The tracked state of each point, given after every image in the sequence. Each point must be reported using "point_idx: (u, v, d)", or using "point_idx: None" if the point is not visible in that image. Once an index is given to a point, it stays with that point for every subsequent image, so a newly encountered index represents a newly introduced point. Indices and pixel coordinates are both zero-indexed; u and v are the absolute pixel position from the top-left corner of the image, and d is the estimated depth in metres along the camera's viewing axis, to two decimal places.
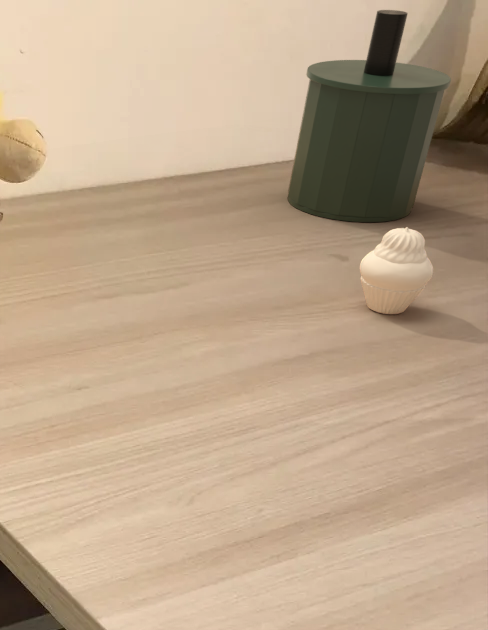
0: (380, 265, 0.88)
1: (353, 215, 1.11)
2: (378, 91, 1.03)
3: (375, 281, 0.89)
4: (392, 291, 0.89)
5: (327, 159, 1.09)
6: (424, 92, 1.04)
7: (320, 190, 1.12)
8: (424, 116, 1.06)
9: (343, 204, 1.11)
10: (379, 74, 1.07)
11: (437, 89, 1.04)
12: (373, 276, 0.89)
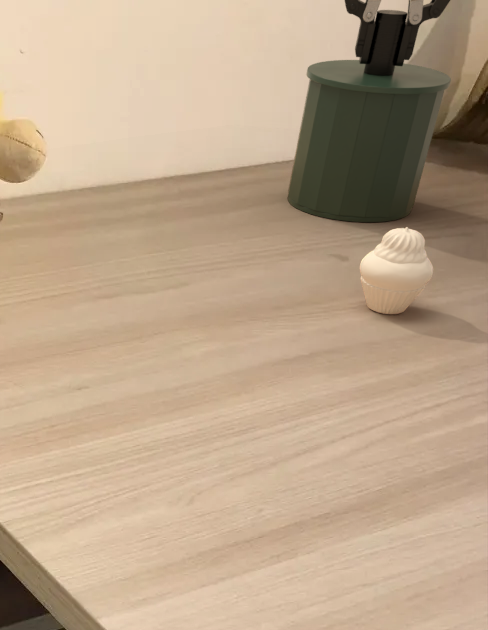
0: (380, 265, 0.88)
1: (353, 215, 1.11)
2: (378, 91, 1.03)
3: (375, 281, 0.89)
4: (392, 291, 0.89)
5: (327, 159, 1.09)
6: (424, 92, 1.04)
7: (320, 190, 1.12)
8: (424, 116, 1.06)
9: (343, 204, 1.11)
10: (379, 74, 1.07)
11: (437, 89, 1.04)
12: (373, 276, 0.89)
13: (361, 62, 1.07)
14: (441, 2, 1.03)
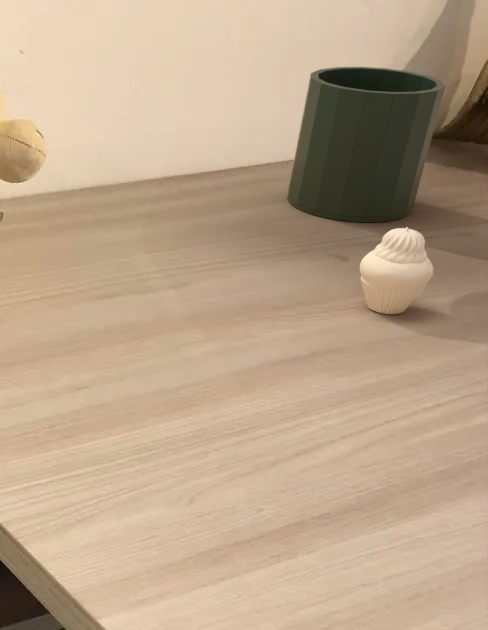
0: (380, 265, 0.88)
1: (353, 215, 1.11)
2: None
3: (375, 281, 0.89)
4: (392, 291, 0.89)
5: (327, 159, 1.09)
6: None
7: (320, 190, 1.12)
8: (424, 116, 1.06)
9: (343, 204, 1.11)
10: None
11: None
12: (373, 276, 0.89)
13: None
14: None
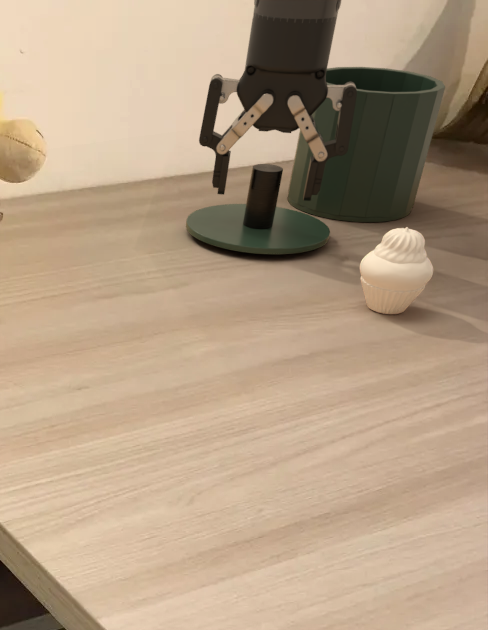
0: (380, 265, 0.88)
1: (353, 215, 1.11)
2: (251, 251, 1.01)
3: (375, 281, 0.89)
4: (392, 291, 0.89)
5: None
6: (298, 251, 1.02)
7: (320, 190, 1.12)
8: (424, 116, 1.06)
9: (343, 204, 1.11)
10: (257, 228, 1.05)
11: (313, 247, 1.02)
12: (373, 276, 0.89)
13: (218, 193, 1.04)
14: (342, 139, 0.99)
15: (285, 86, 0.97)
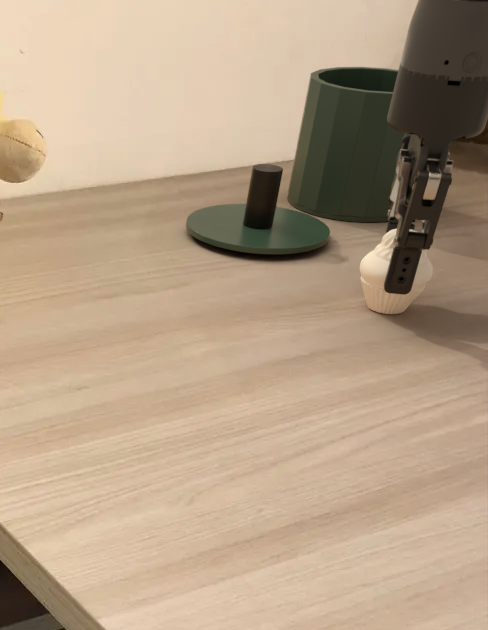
0: (380, 265, 0.88)
1: (353, 215, 1.11)
2: (251, 251, 1.01)
3: (375, 281, 0.89)
4: None
5: (327, 159, 1.09)
6: (298, 251, 1.02)
7: (320, 190, 1.12)
8: None
9: (343, 204, 1.11)
10: (257, 228, 1.05)
11: (313, 247, 1.02)
12: (373, 276, 0.89)
13: (408, 292, 0.88)
14: None
15: None
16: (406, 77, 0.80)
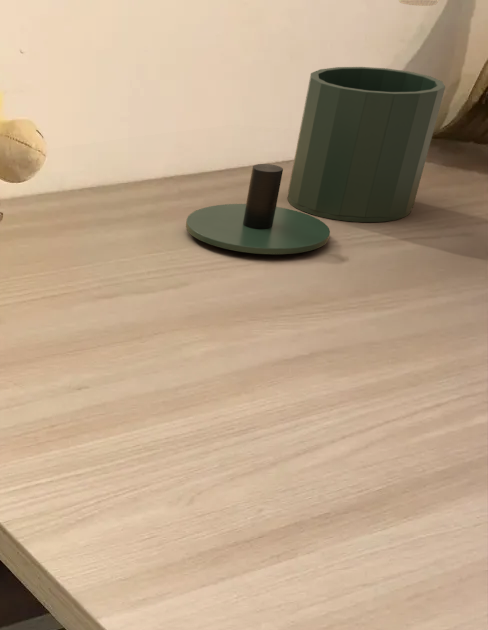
0: None
1: (353, 215, 1.11)
2: (251, 251, 1.01)
3: None
4: None
5: (327, 159, 1.09)
6: (298, 251, 1.02)
7: (320, 190, 1.12)
8: (424, 116, 1.06)
9: (343, 204, 1.11)
10: (257, 228, 1.05)
11: (313, 247, 1.02)
12: None
13: None
14: None
15: None
16: None
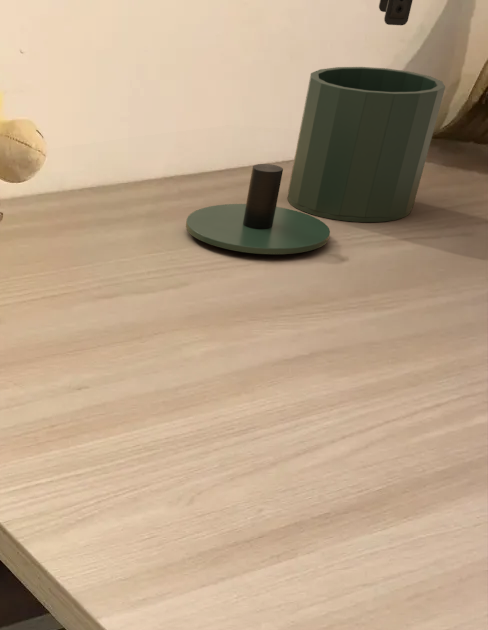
0: None
1: (353, 215, 1.11)
2: (251, 251, 1.01)
3: None
4: None
5: (327, 159, 1.09)
6: (298, 251, 1.02)
7: (320, 190, 1.12)
8: (424, 116, 1.06)
9: (343, 204, 1.11)
10: (257, 228, 1.05)
11: (313, 247, 1.02)
12: None
13: (405, 23, 1.02)
14: None
15: None
16: None
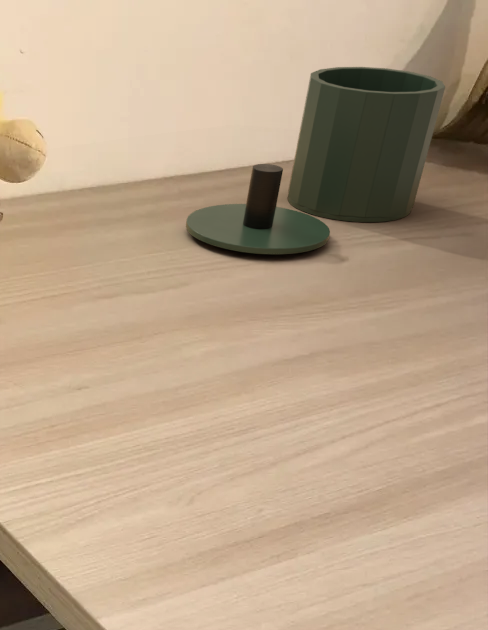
0: None
1: (353, 215, 1.11)
2: (251, 251, 1.01)
3: None
4: None
5: (327, 159, 1.09)
6: (298, 251, 1.02)
7: (320, 190, 1.12)
8: (424, 116, 1.06)
9: (343, 204, 1.11)
10: (257, 228, 1.05)
11: (313, 247, 1.02)
12: None
13: None
14: None
15: None
16: None
